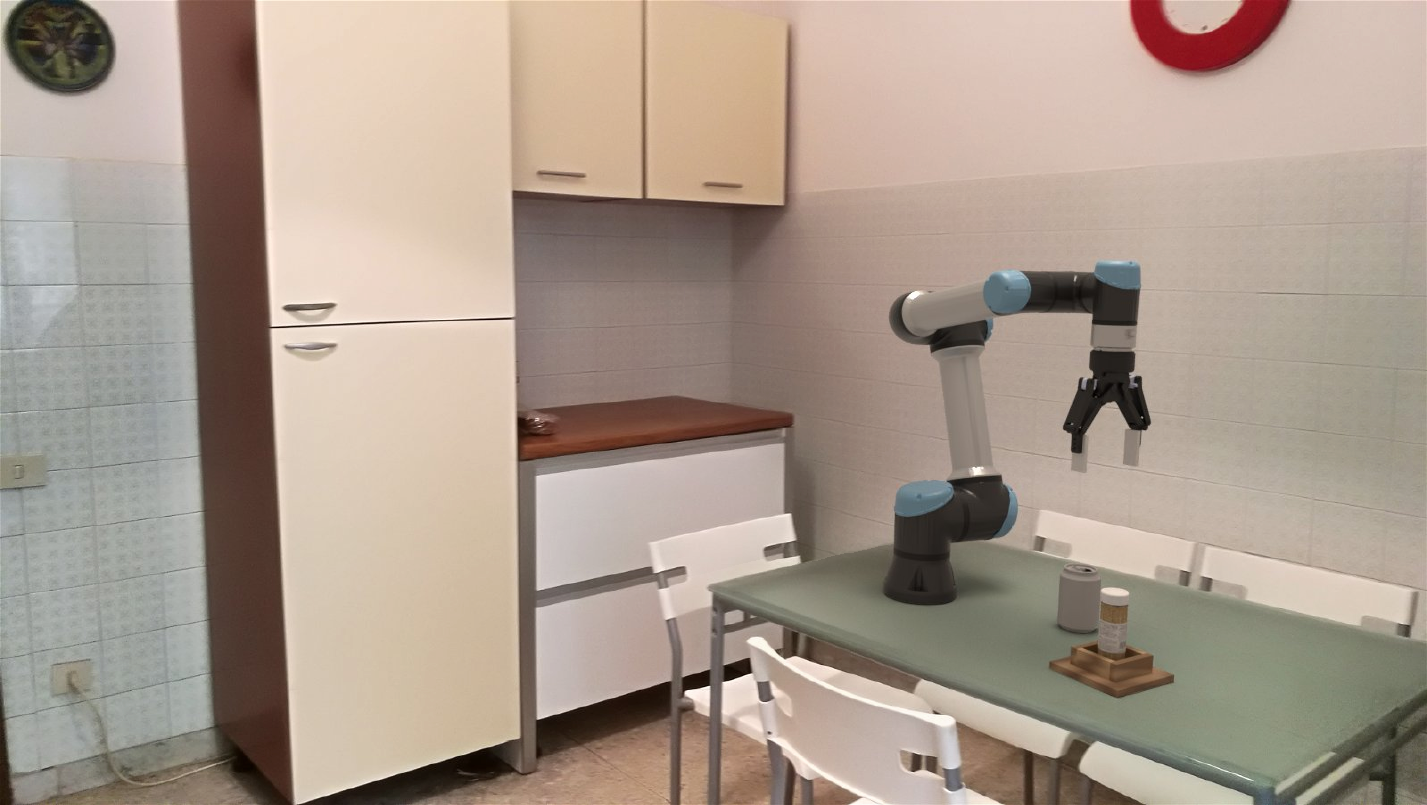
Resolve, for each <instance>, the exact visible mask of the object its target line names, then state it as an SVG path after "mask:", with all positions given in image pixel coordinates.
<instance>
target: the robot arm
mask: <svg viewBox="0 0 1427 805" xmlns="http://www.w3.org/2000/svg"><path fill="white" fill-rule="evenodd" d="M1094 267H1095V268H1094V271H1093V272H1092V271H1073V270H1068V271H1067V270H1064V271H1063V270H1061V271H1057V270H1054V271H1052V270H1051V271H1048V270H1047V271H1045V270H1044V271H1043V270H1041V271H1037V270H1036V271H1033V270H1016V269H1007V270H996V271H994V272H991V274H990V275H989V277H987V278H983V279H979V280H976V281H975V280H974V281H973V282H968V283H964V284H960V285H956V286H952V287H948V288H944V289H941V290H940V289H939V290H931V291H930V290H928V291H927V290H923V289H921V290H915V291H909V292H906V293H903V294H901V295H899V296H898V297H897V298H896V299H895V300H894V301H893V302H892V304H891V306H890V308H889V313H888V322H889V326H890V328H891V330H892V332H893V333H894V335H895V336H896V337H898V338H899V339H900V340H902V341H903V342H905V343H908V344H911V345H914V346H915V345H918V346H929V349H930V350H929V351H930V357H931V358H933V359H934V360H936V361H937V362H938V365H939V367H938V368H939V373H940V380H941V381H940V382H941V390H942V397H943V407H944V414H945V421H946V422H945V423H946V429H947V438H948V447H949V454H950V461H951V462H950V463H951V473H950V474H949V476H948V477H947V478H946V480H945V481H944V480H939V479H932V480H931V479H930V480H928V479H925V480H918V481H917V480H916V481H912V482H908V483H905V484H904V485H901V486H900V487H899V489H897V491H896V494H895V500H894V502H895V503H894V506H893V511H894V523H893V524H894V525H893V526H894V527H893V550H892V551H893V553H892V554H893V555H892V559H891V561H890V564H889V566H888V571H887V574H886V576H885V577H884V580H883V588H882V589H883V594H885V596H887V597H889V598H891V599H892V600H895V601H899V602H903V603H909V604H915V605H941V604H942V605H943V604H947V603H950V602H953V601H955V600H956V599H957V597H958V584H957V582H956V579H955V574H954V571H953V566H952V563H951V557H950V556H951V544H952V543H954V544H955V543H956V544H957V543H967V542H974V541H975V542H977V541H978V542H979V541H990V540H993V539H999V538H1002V537H1005V536H1007V535H1008V534H1009V533H1010V531H1011V532H1012V529H1013V526H1015V524H1016V521H1017V519H1018V512H1019V505H1018V504H1019V502H1018V499H1017V495H1016V493H1015V492H1014V491H1013V488H1012V487H1011V486H1010V485H1009V484H1007V483H1004V481H1003V475H1002V474H1003V473H1001V472H1000V471H999V470H997V469H996V468H995V466H994V461H993V455H992V447H991V446H992V445H991V439H990V432H989V423H988V417H987V416H988V414H987V410H986V409H987V407H986V402H985V401H986V400H985V399H986V398H985V392H984V385H983V378H982V369H981V363H980V357H981V355H982V354H983V352H985V350H986V346H985V344H986V343H987V342H988V340H990V338H991V336H992V334H993V331H992V330H993V329H994V319H995V318H1000V317H1007V316H1012V315H1018V314H1034V313H1035V314H1036V313H1037V314H1038V313H1039V314H1087V315H1088V314H1091V315H1092V316H1091V328H1090V329H1091V330H1090V339H1089V340H1090V341H1089V346H1090V347H1092V348H1093V349H1091V350H1090V351H1089V358H1088V359H1089V361H1088V368H1089V370H1090V371H1092V377H1079V378H1078V385H1077V390H1076V392H1075V396H1073V397H1074V398H1073V400H1072V403H1071V405H1070V408H1069V410H1068V413H1067V415H1066V416H1065V421H1064V423H1063V425H1062V430H1063V431H1065V432H1066V433H1068V434H1070V435H1071V441H1070V443H1071V444H1070V452H1071V467H1070V468H1071V469H1070V471H1073V472H1077V473H1082V474H1085V473H1087V469H1088V455H1089V454H1088V452H1089V441H1090V439H1089V438H1090V437H1089V434H1088V435H1087V434H1086V433H1087V432H1088V430H1089V428H1090V427H1091V425H1092V424H1093V422H1094V420H1095V419H1096V417H1097V415H1099V414H1098V413H1099V412H1100V410H1101V409H1102V407H1104V406H1106V405H1107V404H1109V403H1110V404H1112V403H1116V406H1117V407H1118V409H1119V411H1120V412H1121V415H1122V416H1123V418H1124V421H1125V422H1126V424H1127V426H1128V427H1129V428H1125V429H1124V442H1123V454H1122V456H1123V459H1122V465H1126V466H1129V467H1135V468H1136V467H1139V460H1140V459H1139V458H1140V447H1141V444H1142V432H1143V431H1147V430H1148V429H1149V426H1150V425H1151V424H1152V420H1151V416H1150V412H1149V410H1148V405H1147V402H1146V398H1145V394H1144V390H1143V377H1142V375H1135V374H1131V373H1134V371H1135V369H1136V368H1135V367H1136V352H1135V351H1133V349H1135V348H1136V347H1137V335H1138V334H1137V333H1138V332H1137V331H1138V330H1137V329H1138V319H1139V307H1140V296H1141V295H1140V294H1141V288H1142V282H1141V281H1142V279H1141V271H1142V270H1141V265H1140V264H1139V262H1138V261H1136V260H1135V261H1133V260H1098V261H1097V262H1096V263H1095V266H1094Z"/></svg>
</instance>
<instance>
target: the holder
mask: <svg viewBox="0 0 1427 805" xmlns="http://www.w3.org/2000/svg"><path fill="white" fill-rule="evenodd" d="M1048 668H1049V669H1050V670H1052V671H1054V672H1057V673H1059V674H1061V675H1064V676H1066V677H1069V678H1071V679H1073V680H1075V681H1078V682H1080V683H1082V684H1085V685H1087V686H1089V687H1091V688H1094V689H1096V690H1098V691H1100V692H1103V693H1105V694H1107V695H1110V696H1112V697H1114V698H1116V699H1118V698H1121V697H1125V696H1129V695H1132V694H1136V693H1139V692H1142V691H1146V690H1149V689H1153V688H1156V687H1159V686H1161V687H1162V686H1164V685H1166V684H1171V683H1174V682H1175V674H1173V673H1171V672H1168V671H1166V670H1163V669H1160V668H1159V667H1155V666H1154V654H1152V653H1148V652H1146V651H1145V650H1141V649H1139V648H1136V647H1132V646H1131V645H1128V644H1126V651H1125V659H1122V660H1118V661H1114V660H1111V659H1109V658H1106V657H1104V656H1101V655H1099V654H1098V640H1094V641H1088V642H1085V643H1081V644H1076V645H1073V646H1070V656H1065V657H1062V658H1057V659H1054V660H1050V661H1049V662H1048Z"/></svg>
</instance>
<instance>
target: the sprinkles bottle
mask: <svg viewBox="0 0 1427 805" xmlns="http://www.w3.org/2000/svg"><path fill="white" fill-rule="evenodd" d="M1130 597H1131V596H1130V592H1129V591H1128V590H1126V589H1124V588H1119V587H1104V588H1101V591H1100V610H1099V624H1098V637H1097V639H1098V654H1099V655H1101V656H1104V657H1106V658H1109V659H1111V660H1114V661H1118V660H1122V659H1125V651H1126V645H1127V638H1128V636H1127V635H1128V611H1129V609H1128V608H1129V604H1130V599H1131V598H1130Z"/></svg>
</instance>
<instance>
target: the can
mask: <svg viewBox="0 0 1427 805" xmlns="http://www.w3.org/2000/svg"><path fill="white" fill-rule="evenodd" d="M1101 590H1102V575H1101V574H1100V573H1099V568H1098V567H1096V566H1094V565H1090V564H1086V563H1080V562H1079V563H1078V562H1076V563H1074V562H1070V563H1066V564H1064V565H1063V569H1062V570H1061V571H1060V572H1059V583H1058V597H1057V599H1058V600H1057V601H1058V602H1057V616H1056V618H1057V620H1056V622H1057V623H1058V625H1059V626H1060V627H1061V628H1062V629H1064V630H1066V631H1069V632H1072V633H1078V634H1085V633H1086V634H1087V633H1092V632H1094V631H1095V630H1096V629H1098V628H1099V623H1100V608H1101V601H1100V593H1101Z"/></svg>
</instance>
